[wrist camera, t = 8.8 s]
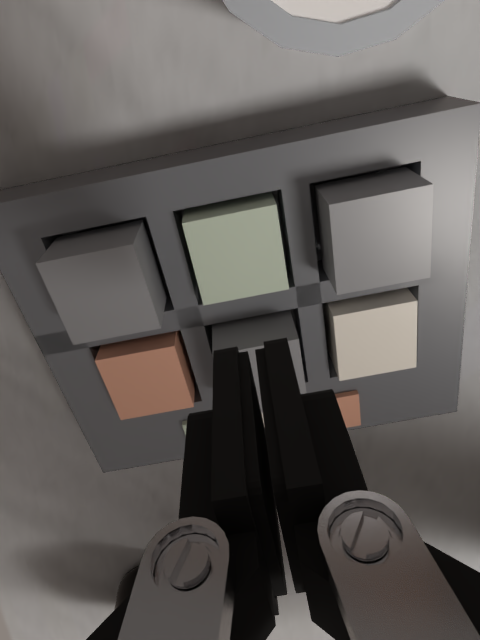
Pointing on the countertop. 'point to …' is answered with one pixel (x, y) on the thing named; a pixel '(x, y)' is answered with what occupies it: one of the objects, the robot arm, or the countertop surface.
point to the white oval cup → (330, 22)
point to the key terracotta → (147, 374)
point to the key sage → (236, 248)
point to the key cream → (372, 333)
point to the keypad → (299, 252)
